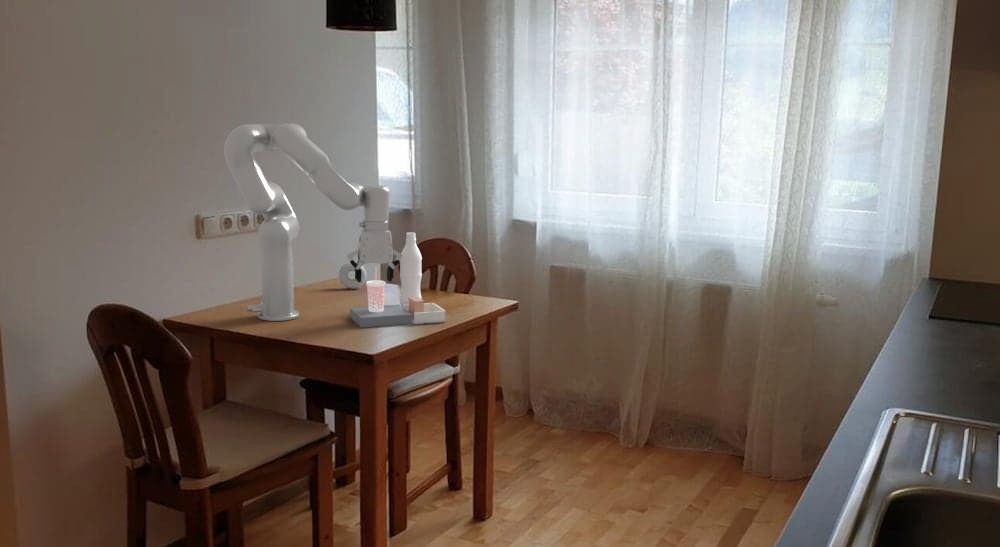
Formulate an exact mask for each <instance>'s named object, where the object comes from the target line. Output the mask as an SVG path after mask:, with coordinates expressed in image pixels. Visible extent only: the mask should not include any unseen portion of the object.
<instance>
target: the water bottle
mask: <svg viewBox="0 0 1000 547" xmlns="http://www.w3.org/2000/svg"><path fill="white" fill-rule="evenodd" d="M405 236H406V237H405V245H404V247H403V249H402V251H401V252H400V253H401V254H402V255H403V256H402V258H401V260H400V261H399V267H400V268H399V278H400V284H401V285H400V287H401V289H400V295H399V303H400V304H399V305H400V306H402V307H403V305H409V297H419V298H420V299H422V298H423V297H422V294H421V292H422V291H421V281H422V276H423V273H422V260H423V257H422V254H421V251H420V249H419V247H418V246H417V242H416V241H417V237H416V232H413V231H412V232H411V231H409V232H406V235H405ZM422 300H423V299H422Z"/></svg>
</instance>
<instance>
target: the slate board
mask: <svg viewBox="0 0 1000 547" xmlns="http://www.w3.org/2000/svg"><path fill="white" fill-rule="evenodd" d="M349 318H350V319H351V318H352V319H351V320H352V321H353V322H355V324H357V325H358V326H359V328H362V327H363V328H371V327H373V328H374V327H385V326H386V325H389V326H400V325H399V324H402V325H412V324H413V323H412V314H411V313H410V312H409V311H407V310H406V309H405V308H403V307H402V306H401V304H390V305H389V304H388V305H385V304H384V310H383V311H382V312H370V311H369V307H368V306H360V307H359V306H358V307H355V306H354V307H349ZM386 327H387V326H386Z"/></svg>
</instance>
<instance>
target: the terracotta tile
mask: <svg viewBox="0 0 1000 547" xmlns="http://www.w3.org/2000/svg"><path fill="white" fill-rule="evenodd" d="M424 303H425V300H423V299H420V298H419V297H409V312H410V313H411V314H412V319H413V320H414V313H420V312H424Z"/></svg>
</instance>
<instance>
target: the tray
mask: <svg viewBox="0 0 1000 547" xmlns="http://www.w3.org/2000/svg"><path fill="white" fill-rule="evenodd" d="M403 308H405V309H406V310H407V311H409V305H403ZM424 323H428V324H438V323H447V311H446V310H445V309H444V308H442V307H441V306H439V305H438V304H436V303H435V302H428V303H425V302H424V312H420V313H414V320H413V319H412V324H413V325H425V324H424Z"/></svg>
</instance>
